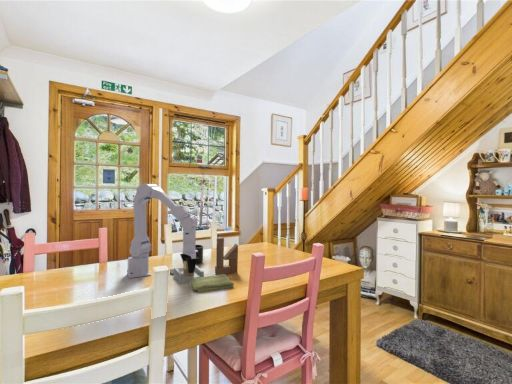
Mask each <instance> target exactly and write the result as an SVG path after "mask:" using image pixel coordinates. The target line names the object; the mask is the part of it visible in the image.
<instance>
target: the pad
mask: <svg viewBox="0 0 512 384" xmlns="http://www.w3.org/2000/svg"><path fill="white" fill-rule="evenodd" d="M176 268H177V269H178V270H179V271H180V272H183V267H176ZM169 274H170V275H171V276H174V268H170V273H169Z"/></svg>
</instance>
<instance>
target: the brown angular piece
mask: <svg viewBox="0 0 512 384" xmlns="http://www.w3.org/2000/svg"><path fill="white" fill-rule="evenodd" d="M238 258H239V245H238V244H237V243H234V245H233V246H231V248H230V249H229V250H228V251H227V253H225V237H223V236H219V237H217V238H216V259H215V260H216V262H215V264H216V265H215V267H214V273H215V274H216V275H220V274H225V275H230V274H231V275H232V274H237V273H238V266H239V265H238V264H239V263H238ZM224 261H228V265H226V264H225V265H224V263H225V262H224Z"/></svg>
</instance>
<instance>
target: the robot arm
mask: <svg viewBox="0 0 512 384" xmlns="http://www.w3.org/2000/svg"><path fill="white" fill-rule="evenodd" d="M151 199H157V200H159V201H160V202H161V203H162V204H163V205H165V207H167V208H168V209H169V210H170V214H171V215H172V216H173V217H174V218H175V219H176V220H177V221H178V222H179V223H180V225H181V226H180V227H182V230H183V231H182V253H179V254H180V257H181V261H182V263H183V262H184V261H187V264H188V271H189V273H194V270H195V266H197V264H196V263H197V261H198V259H199V258H198V257H196V252H198V250H195V245H196V235H197V234H196V233H197V231H196V230H197V226H198V218H197V217H196V216H195V215H191V214H192V213H191V212H188V211H187V210H186V209H185V206H184V205H181V204H176V203H175V202H174V201H173V199H172V198H170V197H169V196H168V195H167V193H166V192H165V191H164V190H163V189H162V188H161V187H160V186H159V185H158V184H156V183H141V184H140V185H139V186H138V187H137V188H136V193H135V195H134V197H133V202H132V203H133V227H134V230H133V231H134V236H133V238H132V240H131V242H130V243H131V244H130V247H129V254H130V255H131V256H129V257H127V269H126V273H127V276H128V278H129V279H132V278H138V277H146V276H147V277H149V276H151V273H150V271H149V265H150V264H149V263H150V262H149V259H150V257H149V256H150V252H151V251H152V248H153V247H152V243H151V242H150V236H148V233H147V205H146V203H148V202H149V201H150V200H151Z"/></svg>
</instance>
